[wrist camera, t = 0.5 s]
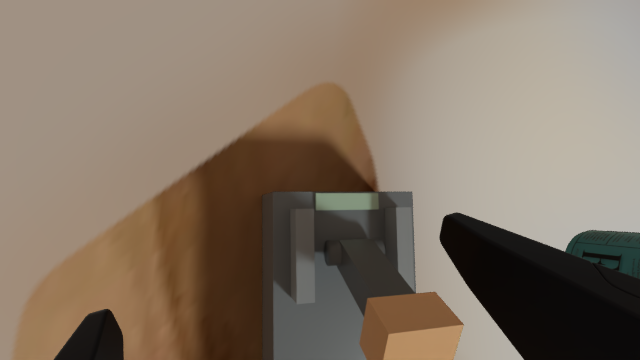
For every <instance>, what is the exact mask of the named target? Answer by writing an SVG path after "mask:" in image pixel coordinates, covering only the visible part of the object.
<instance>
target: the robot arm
mask: <svg viewBox="0 0 640 360" xmlns="http://www.w3.org/2000/svg"><path fill="white" fill-rule="evenodd" d="M440 242H441V244H442V246H443V248H444V249H445V251H446V252H447V254H448V255H449V257H450V259H451V260H452V262H453V263H454V265H455V267H456V268H457V270H458V272H459V273H460V275H461V276H462V278H463V279H464V281H465V283H466V284H467V286H468V287H469V288H470V290H471V291H472V292H473V294H474V295H475V296H476V298H477V299H478V300H479V302H480V303H481V304H482V306H483V307H484V308H485V309H486V311H487V312H488V313H489V314H490V316H491V317H492V318H493V320H494V321H495V322H496V324H497V325H498V326H499V328H500V329H501V330H502V331H503V333H504V334H505V335H506V337H507V338H508V339H509V341H510V342H511V343H512V345H513V346H514V347H515V348H516V350H517V351H518V352H519V354H520V355H521V356H522V357H523V359H524V360H640V279H639V278H636V277H633V276H630V275H627V274H625V273H622V272H619V271H616V270H613V269H610V268H608V267H605V266H602V265H600V264H597V263H594V262H592V263H591V262H590V261H589V260H586V259H583V258H581V257H578V256H575V255H572V254H570V253H567V252H564V251H561V250H559V249H556V248H553V247H550V246H548V245H545V244H542V243H540V242H537V241H534V240H532V239H529V238H526V237H523V236H521V235H518V234H515V233H513V232H510V231H507V230H504V229H501V228H499V227H496V226H493V225H491V224H488V223H485V222H483V221H480V220H477V219H475V218H472V217H469V216H466V215H464V214H461V213H453V214H449V215H446V216H445V217H444V218H443V222H442V227H441V232H440ZM54 360H124V356H123V335H122V331H121V329H120V327H119V325H118V323H117V321H116V319H115V317H114V315H113V313H112V312H111V311H110V310H109V309H104V310H100V311H97V312H93V313H90V314H88V315H87V316H86V317H85V318H84V320H83V321H82V322H81V324H80V325H79V326H78V328H77V329H76V330H75V332H74V333H73V334H72V336H71V337H70V338H69V340H68V341H67V342H66V344H65V345H64V346H63V348H62V349H61V350H60V352H59V353H58V354H57V356H56V357H55V358H54Z"/></svg>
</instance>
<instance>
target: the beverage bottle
mask: <svg viewBox="0 0 640 360" xmlns="http://www.w3.org/2000/svg"><path fill="white" fill-rule="evenodd" d="M565 252H567V253H570V254H572V255H575V256H578V257H581V258H583V259H586V260H589V261H590V262H591V263H592V262H594V263H597V264H600V265H602V266H605V267H608V268H610V269H613V270H616V271H619V272H622V273H625V274H627V275H630V276H633V277H636V278H639V279H640V233H634V232H632V233H629V232H616V231H615V232H614V231H596V230H592V231H590V230H589V231H586V232H582V233H580V234H578V235H576V236H575V237H574V238H573V239H572V240H571V241H570V243H569V244H568V246H567V248H566V251H565Z"/></svg>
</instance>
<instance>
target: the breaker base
mask: <svg viewBox="0 0 640 360" xmlns="http://www.w3.org/2000/svg"><path fill="white" fill-rule="evenodd" d="M377 238H379V239H381V240H382V241H383V244H384V247H385V256H386V257H387V258H388V259H389V261H390V262H391V263H392V264H393V266H394V267H395V268H396V269H397V271H398V272H399V273H400V274H401V276H402V277H403V278H404V280H405V281H406V282H407V283H408V285H409V286H410V287H411V288H412V290H413V291H414V292H415V293H416V283H415V258H414V257H415V256H414V228H413V199H412V192H271V193H268V194H265V195H262V360H367V359H366V357H365V355H364V353H363V351H362V349H361V346H360V344H359V342H360V337H361V331H362V326H363V320H364V316H363V315H362V313H361V311H360V309H359V307H358V305H357V303H356V301H355V300H354V298H353V296H352V294H351V292H350V290H349V288H348V286H347V285H346V283H345V281H344V279H343V277H342V275H341V273H340V271H339V270H338V268H337V266H327V265H326V262H325V258H324V245H325V242H326V241H329V240H353V239H377Z"/></svg>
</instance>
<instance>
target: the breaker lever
mask: <svg viewBox="0 0 640 360" xmlns="http://www.w3.org/2000/svg"><path fill="white" fill-rule="evenodd" d="M324 258H325V262H326V265H327V266H337V268H338V270H339V271H340V273H341V275H342V277H343V279H344V281H345V283H346V285H347V286H348V288H349V290H350V292H351V294H352V296H353V298H354V300H355V301H356V303H357V305H358V307H359V309H360V311H361V313H362V315H363V316H364V320H363V326H362V331H361V337H360V342H359V344H360V346H361V349H362V351H363V353H364V355H365V357H366V359H367V360H453V359H454V356H455V352H456V349H457V346H458V342H459V339H460V336H461V332H462V329H463V326H464V324H463V323H462V322H461V321H460V320H459V319H458V317H457V316H456V315H455V314H454V313H453V312H452V311H451V309H450V308H449V307H448V306H447V305H446V304H445V303H444V301H443V300H442V299H441V298H440V297H439V296H438V295H437V293H436V292H428V293H415V292H414V291H413V290H412V288H411V287H410V286H409V285H408V283H407V282H406V281H405V280H404V278H403V277H402V276H401V274H400V273H399V272H398V271H397V269H396V268H395V267H394V266H393V264H392V263H391V262H390V261H389V259H388V258H387V257H386V256H385V247H384V244H383V241H382V240H381V239H379V238H377V239H353V240H329V241H326V242H325V245H324Z"/></svg>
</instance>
